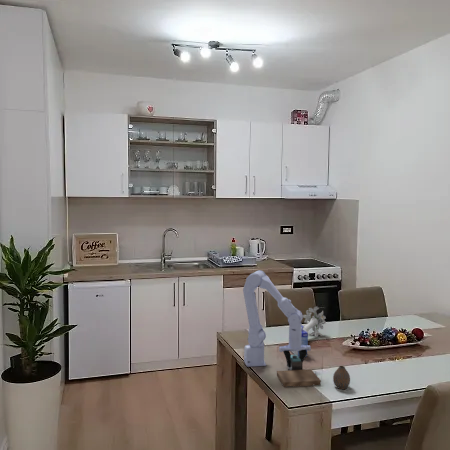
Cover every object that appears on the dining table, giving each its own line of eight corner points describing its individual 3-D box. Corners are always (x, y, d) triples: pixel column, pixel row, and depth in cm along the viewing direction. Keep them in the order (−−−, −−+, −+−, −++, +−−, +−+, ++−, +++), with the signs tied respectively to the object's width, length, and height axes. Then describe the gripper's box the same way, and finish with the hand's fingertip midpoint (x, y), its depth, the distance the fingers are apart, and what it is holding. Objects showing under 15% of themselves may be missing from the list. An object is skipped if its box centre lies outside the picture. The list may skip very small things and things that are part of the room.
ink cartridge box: (308, 356, 222) (308, 328, 221) (297, 357, 220) (298, 329, 219) (299, 350, 231) (300, 322, 230) (289, 350, 230) (290, 323, 229)
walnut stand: (283, 387, 186) (284, 382, 186) (276, 375, 198) (276, 371, 198) (320, 385, 189) (320, 380, 189) (311, 373, 201) (311, 369, 200)
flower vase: (305, 356, 241) (328, 334, 258) (307, 327, 234) (330, 307, 251) (285, 346, 249) (308, 326, 266) (286, 318, 242) (310, 299, 259)
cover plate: (293, 363, 202) (293, 358, 202) (288, 358, 209) (288, 353, 208) (300, 363, 203) (300, 358, 202) (296, 357, 209) (296, 353, 209)
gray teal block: (291, 372, 201) (291, 362, 201) (286, 366, 209) (287, 355, 209) (302, 372, 202) (302, 361, 202) (297, 365, 210) (297, 355, 210)
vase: (347, 383, 190) (347, 363, 190) (352, 390, 184) (352, 370, 183) (331, 383, 190) (331, 363, 190) (335, 390, 183) (336, 370, 183)
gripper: (282, 340, 200) (281, 370, 201) (313, 339, 202) (312, 368, 203) (278, 335, 207) (277, 364, 208) (308, 334, 209) (307, 362, 210)
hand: (294, 366), depth 206 cm, fingers closed on gray teal block, 5 cm apart
